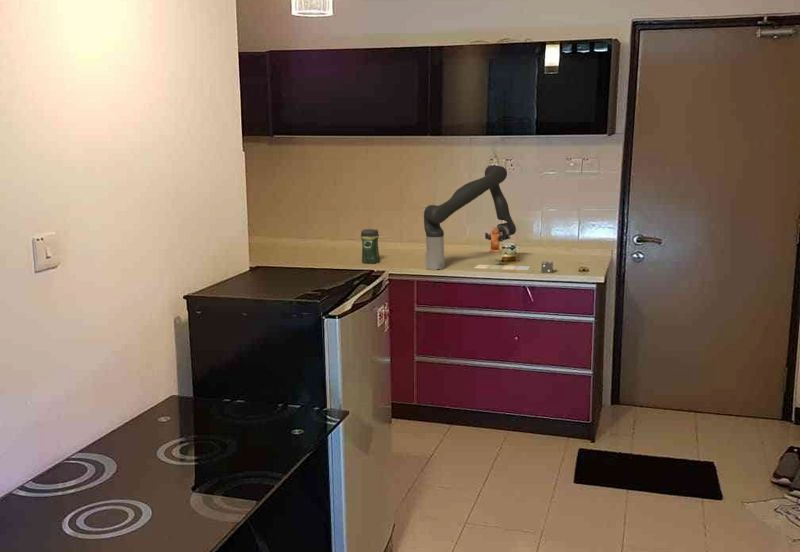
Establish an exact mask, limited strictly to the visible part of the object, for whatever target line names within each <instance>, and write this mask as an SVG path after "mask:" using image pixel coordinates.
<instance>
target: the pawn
mask: <svg viewBox="0 0 800 552" xmlns="http://www.w3.org/2000/svg"><path fill="white" fill-rule="evenodd" d="M498 232H499V230H498V228H497V227H493V228H492V229H491V232H490V233H491V240H490V248H489V249H488V251H489V252H490V253H500V252H502V249H501V248H500V242H499V241H498V236H500V234H499V233H498Z"/></svg>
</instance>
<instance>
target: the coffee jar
mask: <svg viewBox="0 0 800 552" xmlns="http://www.w3.org/2000/svg"><path fill="white" fill-rule="evenodd" d="M379 236H380V235H379V230H378V229H374V228H373V229H371V228H369V229H368V228H366V229H362V230H361V232H360V239H361V245H362V249H361V251H362V252H361V262H362V263H363V264H376V263H377V264H378V263H379V262H380V261H381V258H380V257H381V256H380V252H379V243H378V242H379Z"/></svg>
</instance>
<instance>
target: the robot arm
mask: <svg viewBox="0 0 800 552" xmlns="http://www.w3.org/2000/svg"><path fill="white" fill-rule="evenodd" d="M507 176H508V171H507V169H506V168H505V167H504V166H502V165H494V164H493V165H488V166H487V167H486V168H485V169H484V176H482V177H481V178H477V179H475V180H472V181H469V182H467V183H465V184H464V185H462V186H460V187H459V188H458V189H456V190H455V191H454V193H453V194H452V196H451V197H450V198H449V199H448V200H447V201H445V202H443V203H442V204H441V203H440V204H439V205H435V204H430V205H427V206H426V207H425V209H424V211H423V224H424V225H423V227H424V232H425V238H426V239H425V241H426V244H425V245H426V246H425V247H426V250H425V254H424V255H425V257H424V258H425V270H430V271H431V270H432V271H437V269H440V270H443V269H445V233H444V232H445V231H444V230H443V228H442V227H441V223H443V222H444V221H446V220H447V219H448V218H450V217H451V216H452V215H453V214H454V213H455V212H457V211H459V210H460V209H461V208H463V207H465V206H466V205H468V204H469V203H471V202H472V201H474V200H476V198H479V196H481V195H483V194H484V193H485V192H487V191H488V190H489V192H490V195H491V196H492V197H491V198H492V201H493V204H494V208H495V214H496V217H497V219H498V220H499V221H505V222H503V223H502V222H501V223H498V224H497V225H496V228H498V230H499V232H498V233H499V234H500V236H498V241H499V243H501V242H503V241H504V240H505V241H507V240H509V239H511V237H512V236H513V235H515V234H516V232H517V226H516V225H515V223H514V220H513V219H512V217H511V213H510V209H509V204H508V201H507V199H506V197H505V195H504V194H503V192H502V189H501V187H500V184H502V183H503V182H504V181H505V180H506V179H507ZM491 233H492V232H490V234H489V233H488V232H484V238H485V240H488V241H491Z"/></svg>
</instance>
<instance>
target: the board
mask: <svg viewBox="0 0 800 552" xmlns="http://www.w3.org/2000/svg"><path fill="white" fill-rule="evenodd" d="M530 267H531V266H528V265H500V264H499V265H498V264H477V265H476V266H475V267H474V269H485V270H486V269H488V270H489V269H490V270H512V271H513V270H516V271H517V270H518V271H529V269H530Z"/></svg>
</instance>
